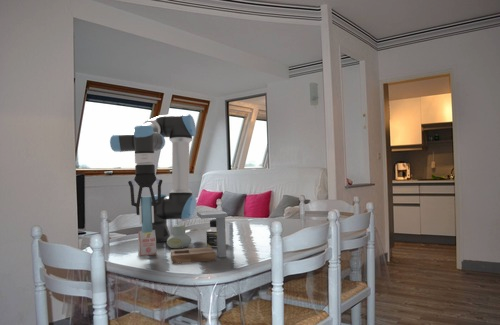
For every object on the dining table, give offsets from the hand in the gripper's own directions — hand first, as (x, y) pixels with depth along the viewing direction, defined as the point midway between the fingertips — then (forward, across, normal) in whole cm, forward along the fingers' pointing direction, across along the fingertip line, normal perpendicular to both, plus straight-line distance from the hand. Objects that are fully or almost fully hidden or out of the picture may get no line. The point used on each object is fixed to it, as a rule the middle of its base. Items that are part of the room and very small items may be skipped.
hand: (146, 222), depth 157 cm
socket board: (+14, +17, -9) cm, 24 cm away
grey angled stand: (+14, +25, -9) cm, 30 cm away
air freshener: (+15, +14, +18) cm, 27 cm away
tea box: (+15, 0, +8) cm, 17 cm away
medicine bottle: (+15, +31, +16) cm, 38 cm away
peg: (+4, 0, 0) cm, 4 cm away
